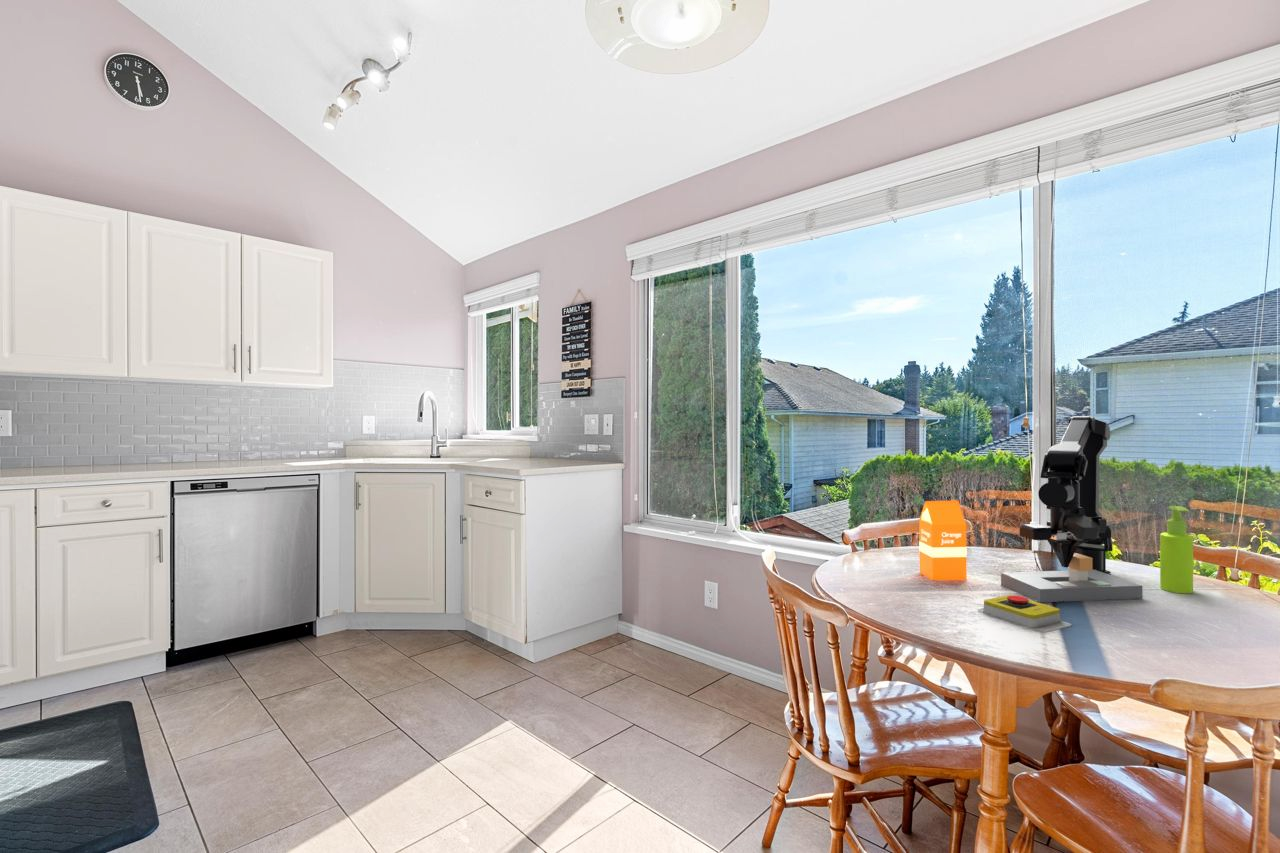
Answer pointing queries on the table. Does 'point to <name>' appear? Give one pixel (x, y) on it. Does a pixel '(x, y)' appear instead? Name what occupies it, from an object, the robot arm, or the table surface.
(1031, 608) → the emergency button
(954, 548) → the orange juice
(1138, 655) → the table surface
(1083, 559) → the lever
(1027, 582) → the breaker box
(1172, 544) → the soap dispenser
